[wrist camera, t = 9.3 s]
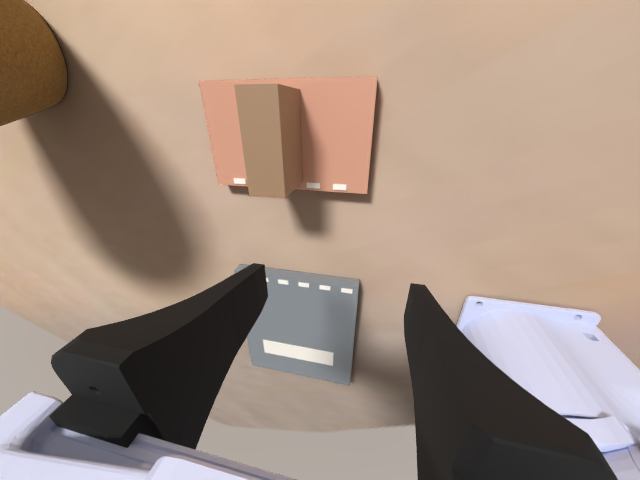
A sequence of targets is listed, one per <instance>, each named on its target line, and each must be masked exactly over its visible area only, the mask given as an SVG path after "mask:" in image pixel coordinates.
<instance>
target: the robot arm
mask: <svg viewBox="0 0 640 480" xmlns="http://www.w3.org/2000/svg"><path fill="white" fill-rule="evenodd" d="M267 298H268V289H267V281H266V273H265V265H263V264H255V263H253V264H251V265H249V266H248V267H246V268H244V269H242V270H241V271H239V272H237V273H235V274H234V275H232V276H230V277H228V278H227V279H225V280H223V281H222V282H220V283H218V284H216V285H214V286H212V287H210V288H208V289H207V290H205V291H203V292H201V293H199V294H197V295H195V296H192V297H190V298H188V299H186V300H183V301H181V302H179V303H176V304H174V305H171V306H168V307H165V308H163V309H160V310H157V311H154V312H152V313H148V314H145V315H142V316H139V317H135V318H132V319H128V320H125V321H121V322H117V323H113V324H108V325H104V326H100V327H95V328H91V329H87V330H85V331H84V332H83V333H81V334H80V335H79V336H77V337H76V338H75V339H73V340H72V341H71V342H69V343H68V344H67V345H65V346H64V347H63V348H61V349H60V350H59V351H58V352H56V353H55V354H54V355H52V360H51V364H52V367H53V369H54V371H55V372H56V374H57V375H58V377H59V378H60V379H61V381H62V382H63V383H64V385H66V387H67V388H68V390H69V391H70V392H71V394H73V395H71V396H70V397H69V398H68V399H67V400H66V401H65V402H64V403H63V402H62V401H61V400H59V399H57V398H55V397H51V396H48V395H44V394H41V393H37V392H30V393H29V394H28V395H26V396H25V397H24V398H23V399H21V400H20V401H19V402H18V403H16V404H15V405H14V406H13V407H11V408H10V409H9V410H8V411H6V412H5V413H4V414H3V415H1V416H0V480H296V479H293V478H289V477H286V476H283V475H279V474H276V473H273V472H269V471H266V470H262V469H259V468H256V467H252V466H249V465H245V464H242V463H239V462H235V461H231V460H228V459H225V458H222V457H218V456H215V455H211V454H208V453H204V452H201V451H198V450H195V449H196V446H197V444H198V441H199V439H200V436H201V433H202V431H203V428H204V426H205V423H206V420H207V418H208V416H209V413H210V411H211V408H212V406H213V404H214V401H215V399H216V396H217V394H218V392H219V390H220V388H221V385H222V383H223V381H224V379H225V376H226V374H227V372H228V370H229V368H230V366H231V364H232V362H233V360H234V358H235V356H236V354H237V352H238V350H239V349H240V347H241V345H242V344H243V342H244V341H245V339H246V337H247V336H248V334H249V332H250V331H251V329H252V327H253V326H254V324H255V322H256V321H257V319H258V317H259V316H260V314H261V312H262V310H263V308H264V305H265V303H266V301H267ZM477 302H480V303H477ZM576 315H577V316H576ZM600 320H601V317H600V316H599V315H598V314H597V313H596V312H593V311H585V310H577V309H569V308H562V307H554V306H546V305H539V304H531V303H523V302H516V301H508V300H500V299H493V298H485V297H477V296H469V297H467V298H466V299H465V301H464V304H463V307H462V310H461V313H460V316H459V319H458V322H457V325H455V324H454V323H453V322H452V320H451V319H450V318H449V317H448V315H447V314H446V313H445V312H444V310H443V309H442V308H441V306H440V305H439V304H438V302H437V301H436V300H435V298H434V297H433V295H432V294H431V293H430V291H429V290H428V288H427V287H426V286H425V285H420V284H412V283H411V285H410V290H409V294H408V299H407V304H406V309H405V314H404V334H405V343H406V349H407V355H408V361H409V368H410V374H411V380H412V386H413V395H414V409H415V426H416V444H417V468H418V480H640V370H639V369H638V368H637V367H636V366H635V365H634V364H633V363H632V362H631V361H630V360H629V359H628V358H627V357H626V356H625V355H624V354H623V353H622V352H621V351H620V350H619V349H618V348H617V347H616V346H615V344H614V343H613V342H612V341H611V340H610V339H609V338H608V337H607V336H606V335H605V334H604V333H603V332H602V331H601V330H600V329H599V328H598V327H597V324H598V323H599V321H600Z"/></svg>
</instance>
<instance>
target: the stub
mask: <svg viewBox="0 0 640 480" xmlns="http://www.w3.org/2000/svg"><path fill="white" fill-rule="evenodd" d="M377 80H378V77H377V76H368V77H329V78H289V79H249V80H210V81H199V84H200V89H201V94H202V100H203V105H204V110H205V115H206V121H207V126H208V131H209V137H210V142H211V147H212V152H213V158H214V163H215V168H216V173H217V179H218V184H219V185H233V186H248V191H249V196H257V197H272V198H286V197H287V196H288V195H290V194H291V193H292V192H293V191H294V190H295V189H296V190H312V191H328V192H343V193H359V194H367V191H368V180H369V169H370V158H371V146H372V135H373V124H374V113H375V102H376V91H377Z"/></svg>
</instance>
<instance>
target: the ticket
mask: <svg viewBox="0 0 640 480" xmlns="http://www.w3.org/2000/svg"><path fill="white" fill-rule="evenodd" d="M248 266H249V265H243V264H240V265H239V266H238V267H237V268H236V270H235V271H234V272H235V273H237V272H239V271H241V270H242V269H244V268H246V267H248ZM265 273H266V281H267V289H268V298H267V301H266V303H265V305H264V308H263V310H262V312H261V314H260V316H259V317H258V319H257V321H256V322H255V324H254V326H253V327H252V329H251V331H250V332H249V334H248V336H247V340H248V345H249V350H250V356H251V361H252V365H254V366H258V367H263V368H268V369H273V370H277V371H282V372H287V373H291V374H296V375H301V376H306V377H310V378H315V379H320V380H325V381H329V382H334V383H339V384H344V385H348V386H350V380H351V370H352V359H353V348H354V336H355V325H356V314H357V303H358V292H359V281H360V280H359V279H351V278H344V277H336V276H328V275H320V274H312V273H305V272H297V271H289V270H281V269H274V268H266V267H265Z"/></svg>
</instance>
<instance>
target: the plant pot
mask: <svg viewBox="0 0 640 480" xmlns="http://www.w3.org/2000/svg"><path fill="white" fill-rule="evenodd" d="M66 89H67V70H66V65H65V61H64V58H63V55H62V52H61V49H60V47H59V44H58V42H57V40H56V38H55V36H54V35H53V33H52V31H51V30H50V28H49V27H48V25H47V24H46V22H45V21H44V20H43V19H42V17H41V16H40V15H39V14H38V13H37V12H36V11H35V10H34V9H33V8H32V7H31V6H30V5H29V4H28V3H27V2H26V1H24V0H0V126H2V125H5V124H8V123H10V122H13V121H16V120H19V119H22V118H24V117H27V116H29V115H32V114H34V113H37V112H39V111H42V110H44V109H46V108H49V107H51V106H53V105H55V104H57V103H59V102H60V101H61V100H62V99H63V97H64V95H65V93H66Z"/></svg>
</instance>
